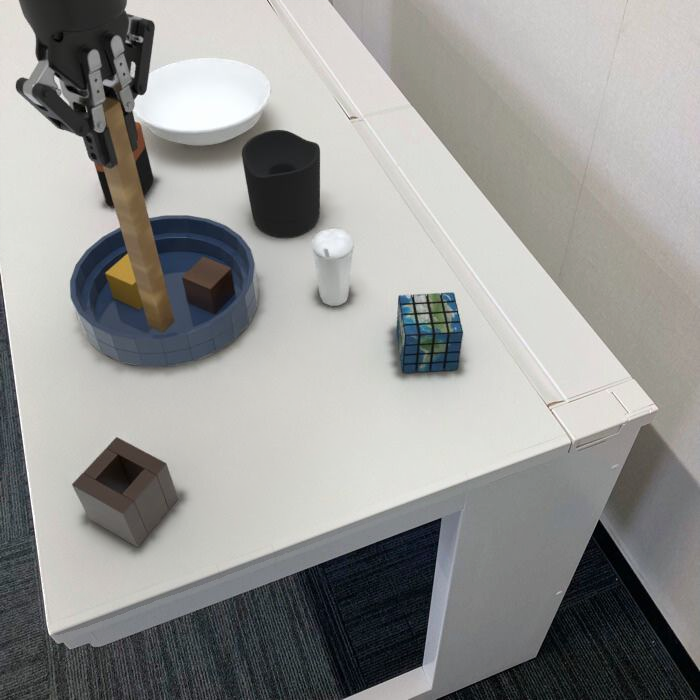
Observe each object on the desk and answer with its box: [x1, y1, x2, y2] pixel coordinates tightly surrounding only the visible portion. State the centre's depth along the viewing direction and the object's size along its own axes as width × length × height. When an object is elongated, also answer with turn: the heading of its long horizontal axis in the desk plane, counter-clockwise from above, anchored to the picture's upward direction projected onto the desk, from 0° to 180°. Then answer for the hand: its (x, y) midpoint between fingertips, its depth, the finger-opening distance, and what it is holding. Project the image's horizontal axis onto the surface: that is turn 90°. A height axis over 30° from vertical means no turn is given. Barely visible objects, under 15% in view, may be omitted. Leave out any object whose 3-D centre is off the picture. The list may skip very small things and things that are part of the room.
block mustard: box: [105, 253, 143, 310], centre depth 88 cm, size 4×4×4 cm
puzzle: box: [395, 291, 464, 374], centre depth 82 cm, size 6×6×6 cm
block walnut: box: [182, 257, 235, 314], centre depth 88 cm, size 4×4×4 cm
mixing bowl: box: [69, 214, 259, 368], centre depth 88 cm, size 20×20×5 cm
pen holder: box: [241, 129, 321, 238], centre depth 96 cm, size 9×9×10 cm
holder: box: [71, 436, 179, 548], centre depth 69 cm, size 6×6×6 cm
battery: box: [93, 121, 155, 207], centre depth 100 cm, size 4×7×10 cm, turn 168°
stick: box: [86, 97, 174, 333], centre depth 73 cm, size 2×2×26 cm
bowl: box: [132, 57, 272, 147], centre depth 111 cm, size 20×20×6 cm
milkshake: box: [311, 227, 355, 307], centre depth 86 cm, size 5×5×10 cm
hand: (116, 156), depth 67 cm, fingers closed on stick, 2 cm apart
